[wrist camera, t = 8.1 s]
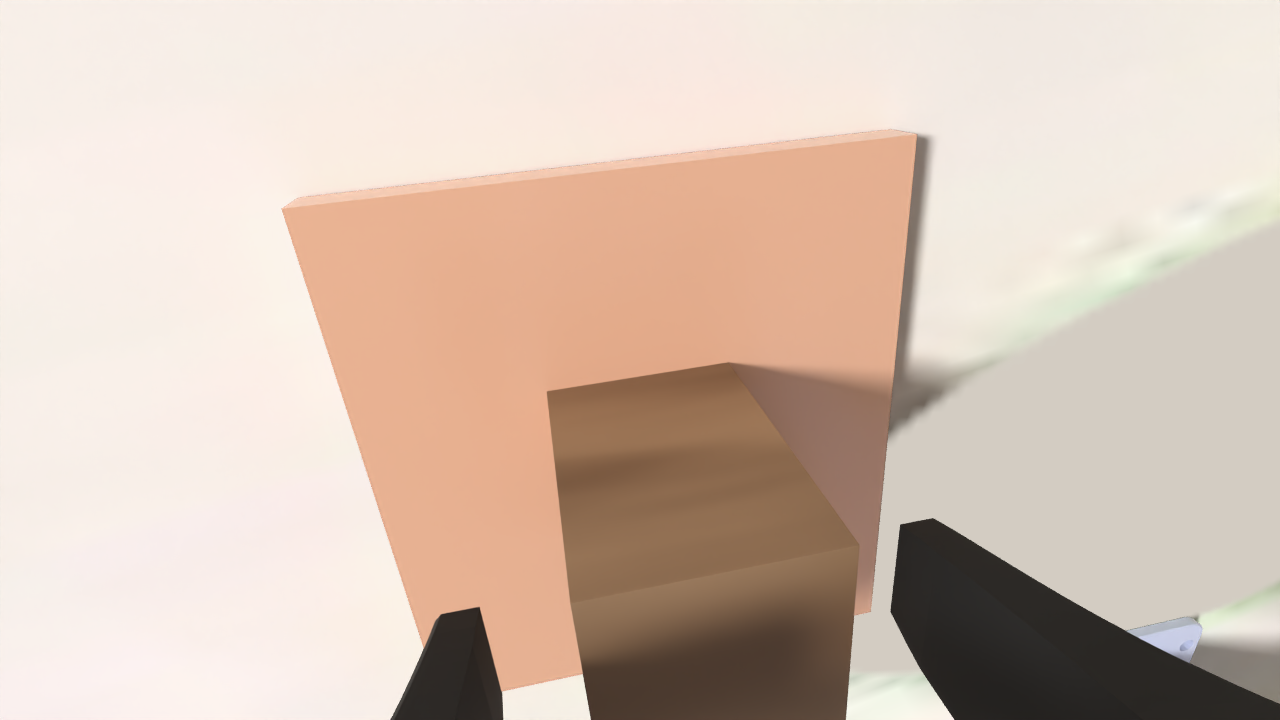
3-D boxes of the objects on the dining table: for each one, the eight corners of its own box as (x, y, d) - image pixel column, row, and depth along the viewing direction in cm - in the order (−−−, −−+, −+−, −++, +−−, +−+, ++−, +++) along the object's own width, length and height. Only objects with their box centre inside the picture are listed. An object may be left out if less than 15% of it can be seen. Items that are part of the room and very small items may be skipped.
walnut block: (732, 507, 16) (844, 733, 11) (571, 538, 16) (603, 791, 10) (728, 361, 14) (859, 544, 9) (546, 391, 14) (570, 603, 8)
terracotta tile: (854, 586, 19) (870, 611, 19) (444, 672, 18) (442, 704, 17) (890, 129, 14) (917, 133, 13) (297, 197, 12) (281, 209, 11)
